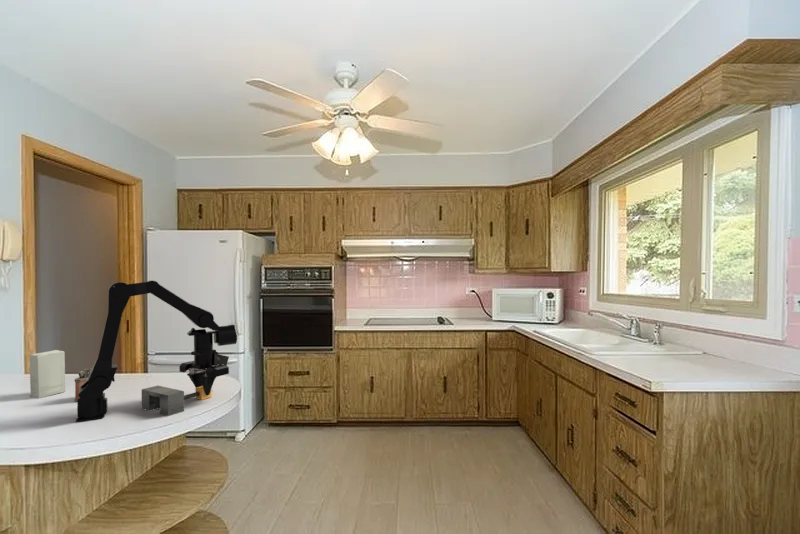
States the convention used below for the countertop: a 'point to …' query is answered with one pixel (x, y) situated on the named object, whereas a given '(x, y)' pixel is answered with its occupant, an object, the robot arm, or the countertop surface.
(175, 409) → the gray bridge-shaped block
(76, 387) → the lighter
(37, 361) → the skincare box
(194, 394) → the plug
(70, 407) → the countertop surface
